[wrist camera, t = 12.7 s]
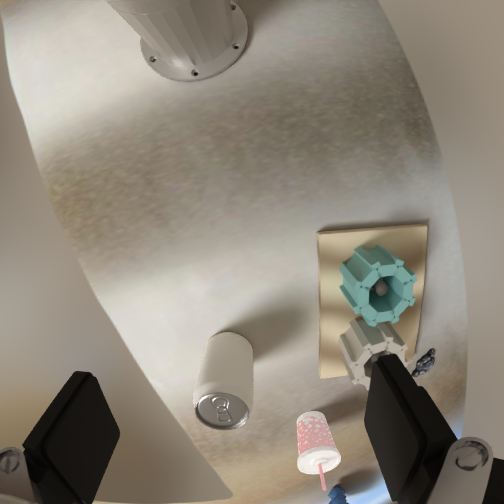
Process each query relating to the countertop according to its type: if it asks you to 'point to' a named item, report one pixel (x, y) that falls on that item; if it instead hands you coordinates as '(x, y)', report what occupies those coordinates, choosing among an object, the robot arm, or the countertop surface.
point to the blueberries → (424, 363)
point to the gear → (368, 348)
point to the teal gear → (366, 274)
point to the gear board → (337, 307)
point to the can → (225, 382)
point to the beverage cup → (316, 445)
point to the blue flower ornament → (337, 496)
